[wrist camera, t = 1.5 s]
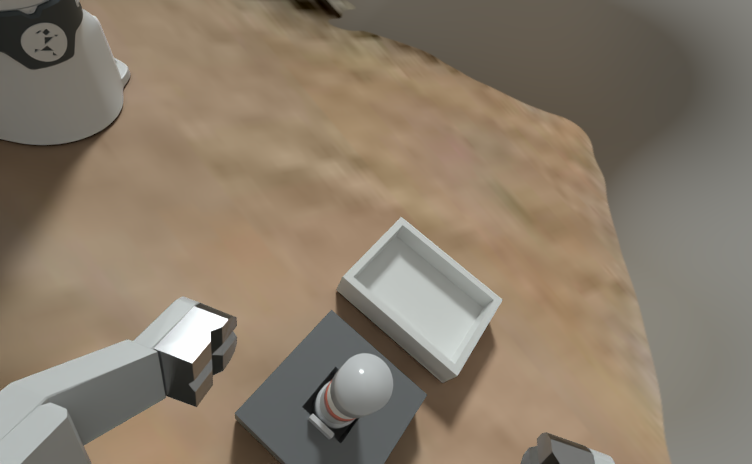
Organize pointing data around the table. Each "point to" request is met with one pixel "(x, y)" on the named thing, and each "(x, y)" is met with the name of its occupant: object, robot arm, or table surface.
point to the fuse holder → (300, 386)
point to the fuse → (354, 391)
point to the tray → (421, 299)
